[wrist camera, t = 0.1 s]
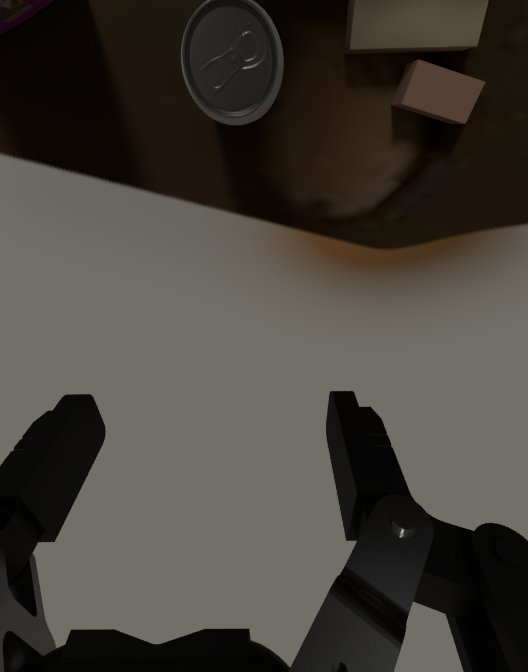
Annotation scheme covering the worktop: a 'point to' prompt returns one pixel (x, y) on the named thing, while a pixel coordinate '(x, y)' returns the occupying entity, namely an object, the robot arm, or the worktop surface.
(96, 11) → the worktop surface
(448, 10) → the oak pad
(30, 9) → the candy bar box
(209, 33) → the can
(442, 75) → the brick terracotta
